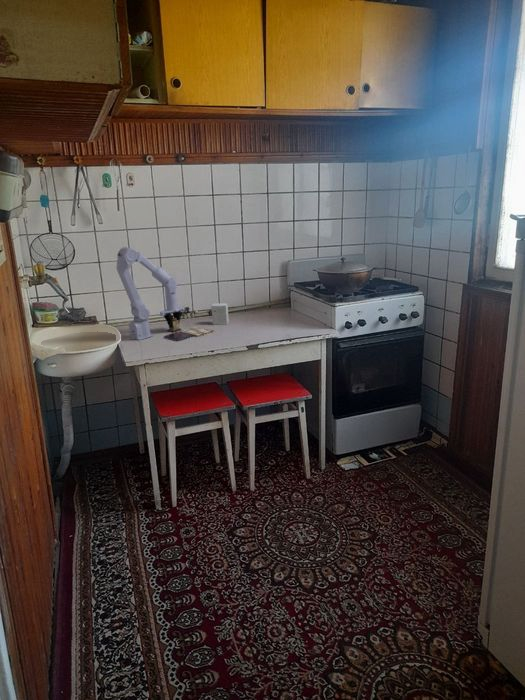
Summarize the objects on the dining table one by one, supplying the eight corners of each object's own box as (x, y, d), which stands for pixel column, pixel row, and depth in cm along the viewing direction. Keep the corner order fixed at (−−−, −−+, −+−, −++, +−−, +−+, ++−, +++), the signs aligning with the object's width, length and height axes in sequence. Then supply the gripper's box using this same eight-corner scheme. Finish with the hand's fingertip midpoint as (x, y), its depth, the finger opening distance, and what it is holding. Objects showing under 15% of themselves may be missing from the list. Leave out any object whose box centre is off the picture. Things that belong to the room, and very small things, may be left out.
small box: (228, 322, 268) (227, 303, 265) (227, 324, 263) (226, 305, 260) (214, 322, 269) (213, 303, 266) (212, 324, 264) (211, 305, 260)
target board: (197, 336, 242) (197, 335, 242) (179, 332, 250) (179, 331, 250) (214, 331, 250) (214, 330, 250) (195, 327, 259) (195, 326, 258)
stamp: (173, 332, 251) (172, 319, 249) (167, 331, 254) (166, 318, 252) (181, 330, 255) (180, 317, 253) (174, 329, 258) (173, 316, 256)
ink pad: (178, 341, 236) (178, 339, 236) (163, 337, 243) (163, 335, 242) (192, 336, 243) (192, 334, 242) (177, 333, 249) (177, 331, 249)
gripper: (165, 304, 242) (168, 331, 246) (187, 299, 253) (189, 324, 257) (156, 302, 246) (159, 329, 250) (178, 297, 257) (180, 322, 261)
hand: (174, 326), depth 254 cm, fingers closed on stamp, 4 cm apart
